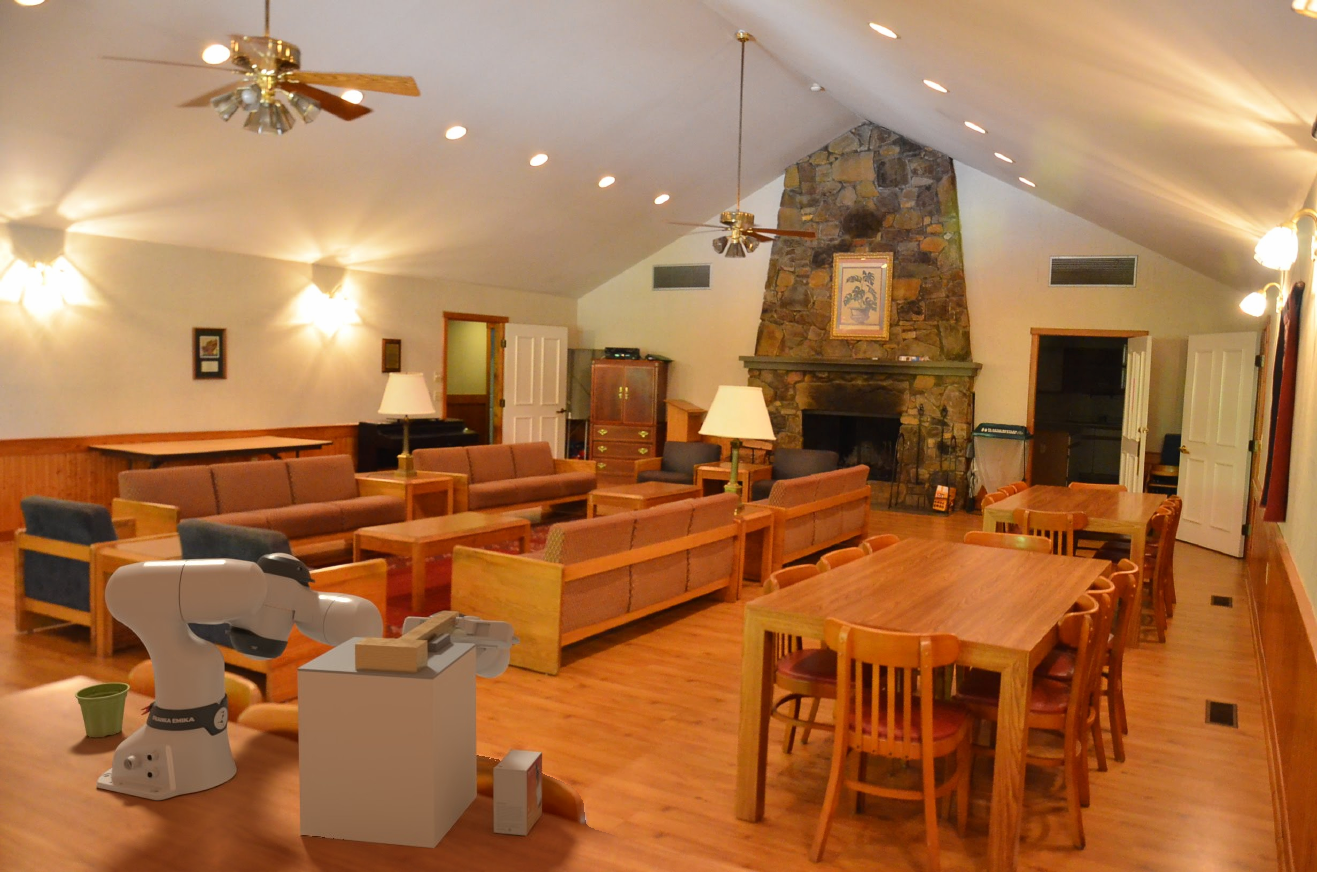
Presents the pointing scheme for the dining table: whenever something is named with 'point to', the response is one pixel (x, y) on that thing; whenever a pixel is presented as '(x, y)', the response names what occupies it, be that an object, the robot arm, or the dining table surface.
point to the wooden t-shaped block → (403, 647)
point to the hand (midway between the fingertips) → (444, 620)
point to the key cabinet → (387, 746)
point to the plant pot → (103, 708)
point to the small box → (517, 792)
